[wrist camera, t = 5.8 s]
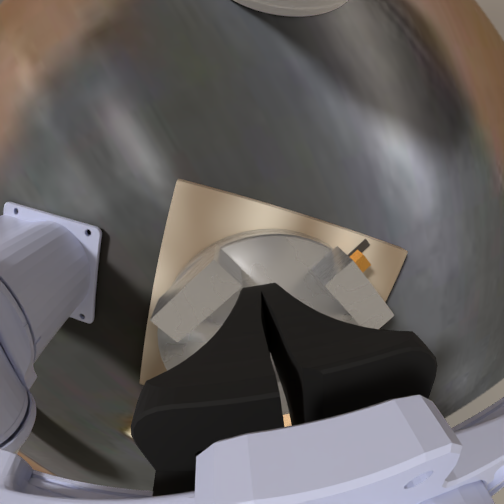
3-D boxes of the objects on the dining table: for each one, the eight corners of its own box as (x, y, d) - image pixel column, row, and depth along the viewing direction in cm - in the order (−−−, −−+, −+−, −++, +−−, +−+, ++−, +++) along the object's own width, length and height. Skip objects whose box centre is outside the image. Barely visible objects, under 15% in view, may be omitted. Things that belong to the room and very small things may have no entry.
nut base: (141, 376, 23) (139, 384, 22) (179, 178, 19) (176, 180, 18) (319, 406, 26) (321, 414, 25) (401, 247, 21) (408, 252, 20)
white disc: (259, 421, 25) (264, 459, 20) (123, 326, 20) (104, 364, 16) (403, 314, 22) (431, 344, 18) (288, 168, 18) (308, 173, 13)
